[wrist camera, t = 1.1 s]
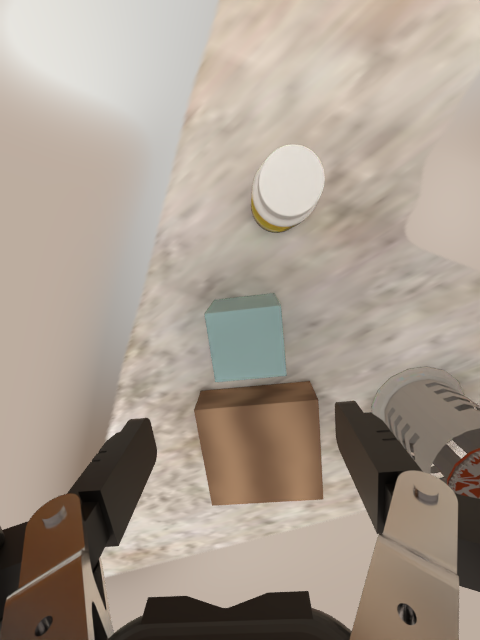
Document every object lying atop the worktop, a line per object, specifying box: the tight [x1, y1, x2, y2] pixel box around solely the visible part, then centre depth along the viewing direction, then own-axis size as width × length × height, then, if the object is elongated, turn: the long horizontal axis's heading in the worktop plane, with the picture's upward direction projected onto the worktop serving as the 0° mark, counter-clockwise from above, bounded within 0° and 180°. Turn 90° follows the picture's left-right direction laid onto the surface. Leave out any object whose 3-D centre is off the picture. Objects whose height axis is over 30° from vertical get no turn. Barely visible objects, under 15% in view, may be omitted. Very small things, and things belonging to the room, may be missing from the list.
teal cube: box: [205, 293, 287, 382], centre depth 24 cm, size 6×6×6 cm
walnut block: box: [194, 381, 323, 506], centre depth 28 cm, size 12×12×4 cm
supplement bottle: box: [251, 144, 325, 233], centre depth 20 cm, size 5×5×8 cm
